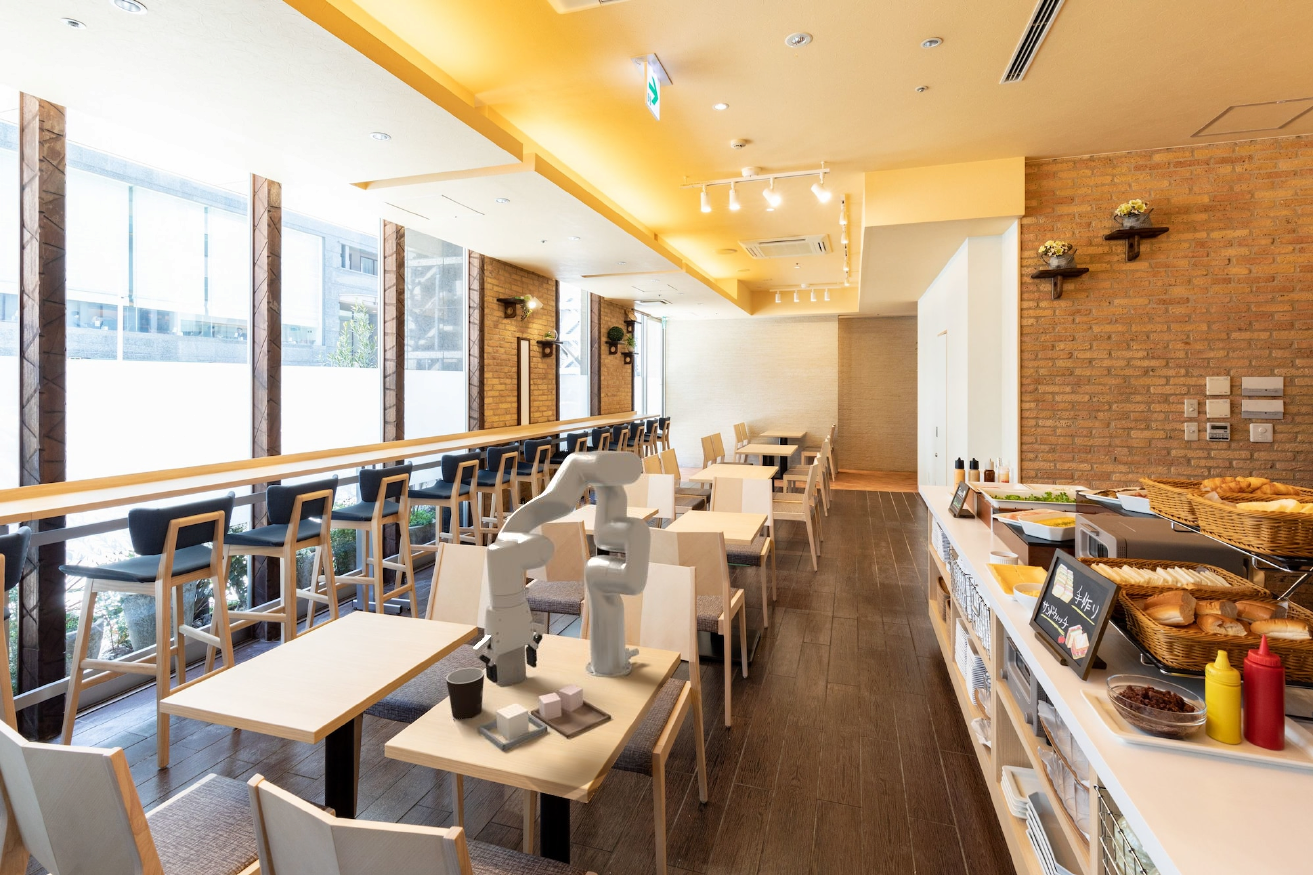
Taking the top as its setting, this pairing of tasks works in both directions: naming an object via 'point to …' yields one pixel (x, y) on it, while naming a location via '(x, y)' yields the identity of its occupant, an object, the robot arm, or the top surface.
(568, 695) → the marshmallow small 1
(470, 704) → the coffee mug
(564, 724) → the walnut tray
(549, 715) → the small marshmallow
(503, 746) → the slate dish
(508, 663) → the thermos bottle
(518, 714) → the cream white cube
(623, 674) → the robot arm
